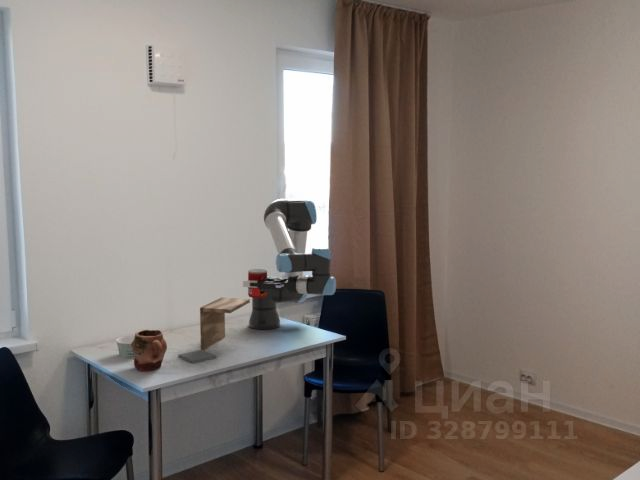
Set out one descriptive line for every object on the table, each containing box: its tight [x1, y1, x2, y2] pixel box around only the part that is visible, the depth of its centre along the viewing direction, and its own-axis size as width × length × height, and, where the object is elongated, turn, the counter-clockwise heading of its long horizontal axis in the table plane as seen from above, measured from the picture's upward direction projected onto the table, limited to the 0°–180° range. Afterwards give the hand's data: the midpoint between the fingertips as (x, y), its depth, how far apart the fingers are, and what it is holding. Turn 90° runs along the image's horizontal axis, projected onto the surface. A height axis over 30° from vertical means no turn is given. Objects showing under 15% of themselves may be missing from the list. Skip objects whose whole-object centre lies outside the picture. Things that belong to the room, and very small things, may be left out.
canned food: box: [247, 268, 268, 298], centre depth 270 cm, size 8×8×11 cm
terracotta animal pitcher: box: [131, 329, 168, 372], centre depth 241 cm, size 20×12×14 cm, turn 45°
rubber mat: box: [177, 349, 218, 364], centre depth 257 cm, size 11×11×1 cm
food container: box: [115, 335, 135, 359], centre depth 260 cm, size 12×12×6 cm
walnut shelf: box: [199, 297, 251, 351], centre depth 275 cm, size 14×22×18 cm, turn 165°
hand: (247, 281), depth 271 cm, fingers closed on canned food, 8 cm apart
